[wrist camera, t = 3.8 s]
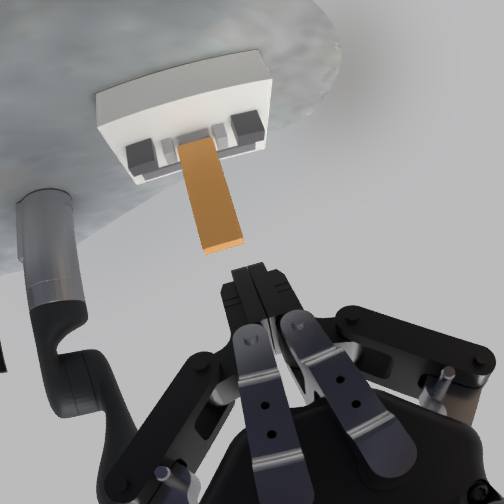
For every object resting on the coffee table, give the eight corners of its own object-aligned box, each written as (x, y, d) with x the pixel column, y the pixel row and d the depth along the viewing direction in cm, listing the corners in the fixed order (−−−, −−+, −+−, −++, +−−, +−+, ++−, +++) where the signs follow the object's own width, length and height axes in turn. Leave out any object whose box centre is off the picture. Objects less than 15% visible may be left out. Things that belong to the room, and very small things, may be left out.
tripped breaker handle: (179, 151, 35) (205, 255, 33) (175, 140, 33) (202, 249, 30) (212, 141, 36) (243, 244, 33) (210, 130, 33) (243, 237, 31)
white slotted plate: (132, 155, 42) (140, 204, 40) (96, 93, 28) (98, 150, 26) (254, 121, 43) (272, 167, 41) (257, 49, 30) (282, 99, 28)
